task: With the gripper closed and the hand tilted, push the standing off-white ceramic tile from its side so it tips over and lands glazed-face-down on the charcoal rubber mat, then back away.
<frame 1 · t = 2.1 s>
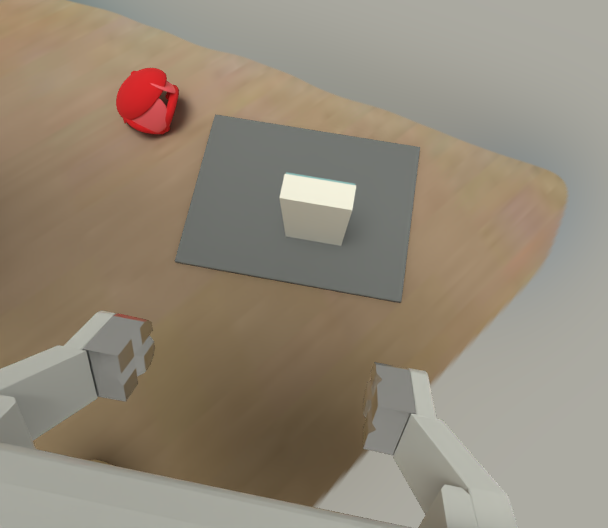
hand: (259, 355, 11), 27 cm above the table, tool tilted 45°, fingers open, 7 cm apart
tile: (315, 230, 41), point 1 cm above the table, touching mat
mat: (302, 204, 42), on the table
red rounded piece: (158, 117, 45), on the table
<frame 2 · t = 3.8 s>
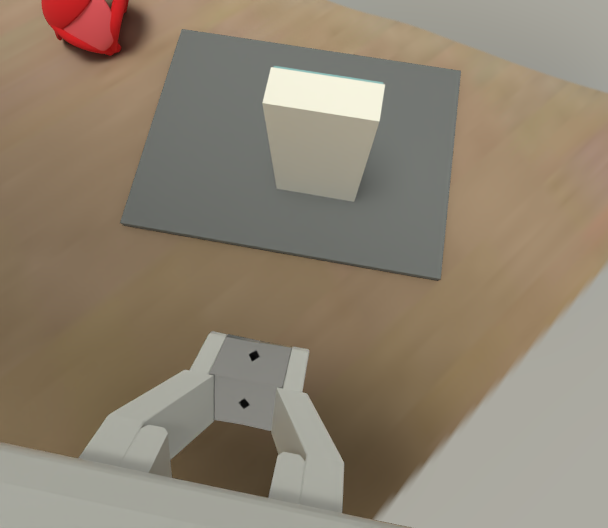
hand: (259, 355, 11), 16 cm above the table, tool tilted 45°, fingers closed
tile: (317, 181, 29), point 1 cm above the table, touching mat
mat: (299, 146, 30), on the table
red rounded piece: (106, 35, 33), on the table
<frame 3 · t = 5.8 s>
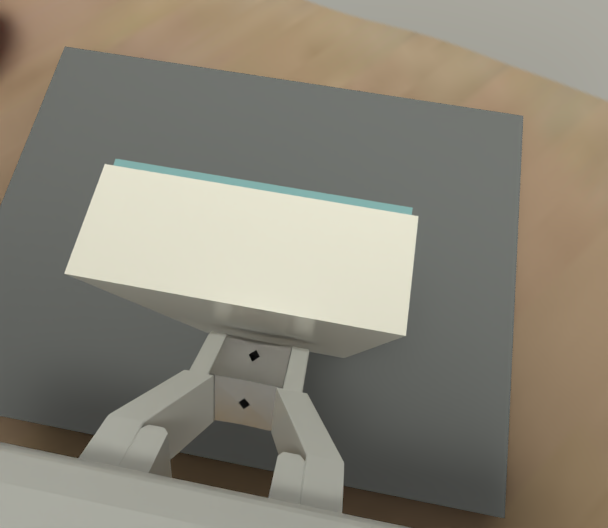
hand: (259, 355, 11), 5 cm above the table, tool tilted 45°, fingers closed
tile: (280, 317, 16), point 1 cm above the table, touching mat
mat: (251, 248, 18), on the table
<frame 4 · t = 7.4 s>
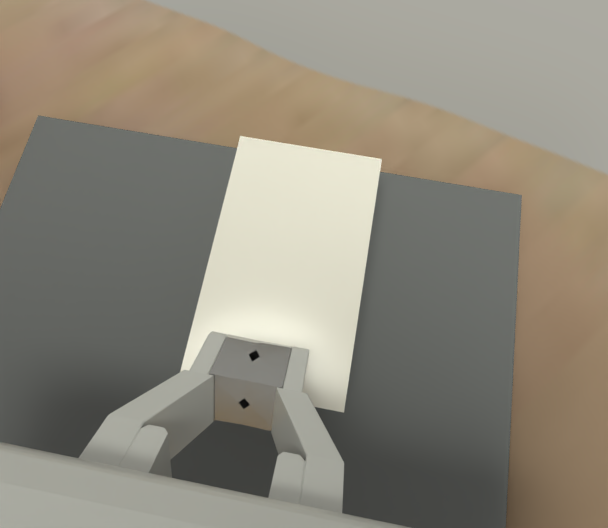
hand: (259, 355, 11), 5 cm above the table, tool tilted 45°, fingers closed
tile: (263, 393, 14), point 2 cm above the table, tilted 90°, touching mat
mat: (232, 340, 17), on the table
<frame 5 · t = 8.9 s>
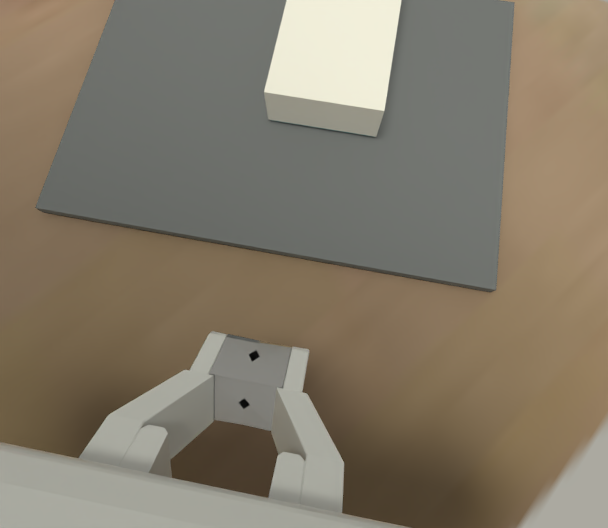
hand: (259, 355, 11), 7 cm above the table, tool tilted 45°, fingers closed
tile: (322, 116, 20), point 2 cm above the table, tilted 90°, touching mat
mat: (292, 104, 22), on the table
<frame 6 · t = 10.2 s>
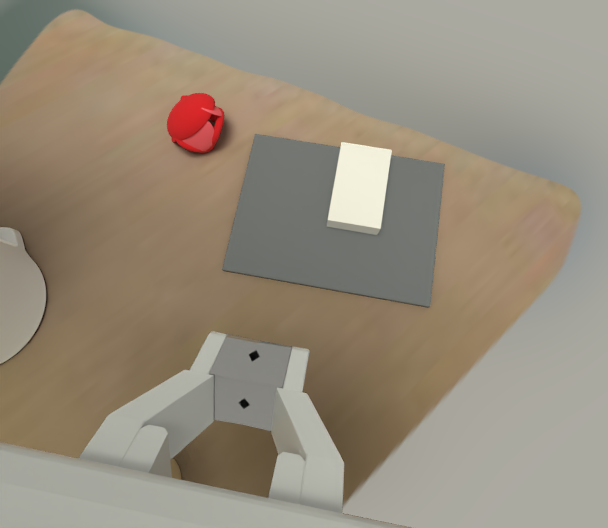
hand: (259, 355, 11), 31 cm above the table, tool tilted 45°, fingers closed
tile: (352, 227, 43), point 2 cm above the table, tilted 90°, touching mat
mat: (336, 216, 46), on the table
red rounded piece: (202, 136, 49), on the table
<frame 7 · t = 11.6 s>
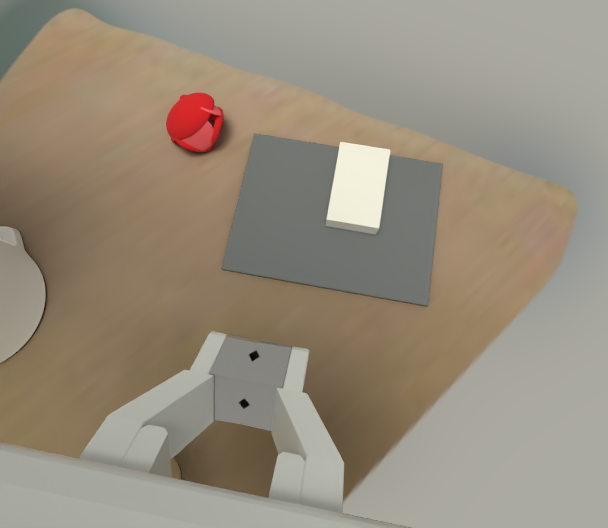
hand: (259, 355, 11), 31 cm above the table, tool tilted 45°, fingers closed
tile: (351, 227, 44), point 2 cm above the table, tilted 90°, touching mat
mat: (335, 216, 46), on the table
red rounded piece: (201, 135, 49), on the table
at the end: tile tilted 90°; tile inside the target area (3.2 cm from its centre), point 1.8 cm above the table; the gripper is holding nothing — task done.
